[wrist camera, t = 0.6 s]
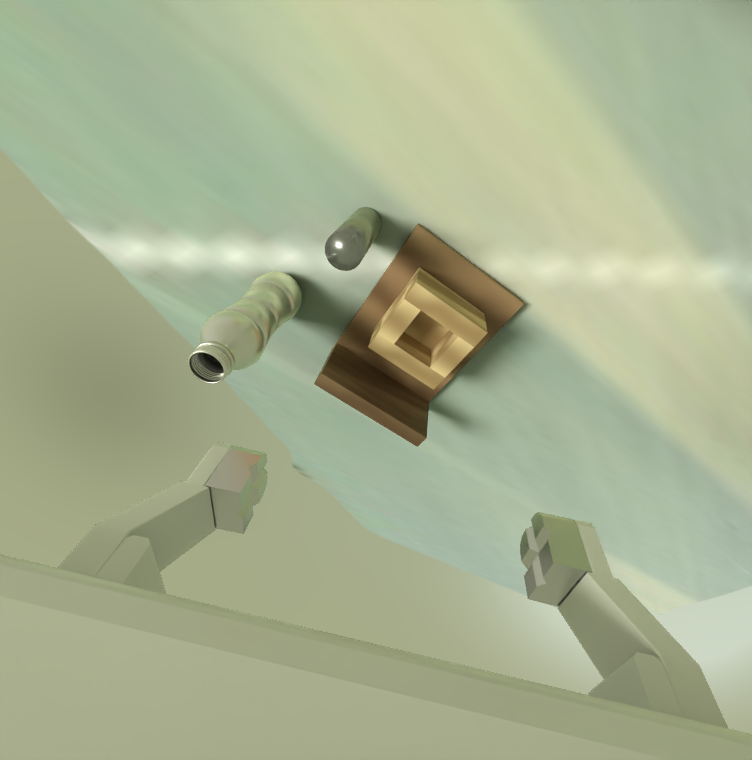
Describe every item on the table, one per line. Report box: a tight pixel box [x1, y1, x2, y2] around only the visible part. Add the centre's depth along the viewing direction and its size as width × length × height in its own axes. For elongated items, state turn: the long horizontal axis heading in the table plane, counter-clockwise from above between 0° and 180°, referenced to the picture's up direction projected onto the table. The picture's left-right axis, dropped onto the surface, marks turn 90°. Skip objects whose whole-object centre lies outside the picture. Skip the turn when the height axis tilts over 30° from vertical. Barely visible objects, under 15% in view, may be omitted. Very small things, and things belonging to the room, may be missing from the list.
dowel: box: [325, 207, 381, 271], centre depth 41 cm, size 4×4×12 cm
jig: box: [314, 224, 524, 447], centre depth 49 cm, size 21×16×9 cm
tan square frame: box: [368, 267, 488, 390], centre depth 48 cm, size 10×10×6 cm
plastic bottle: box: [188, 271, 302, 384], centre depth 44 cm, size 6×7×20 cm
